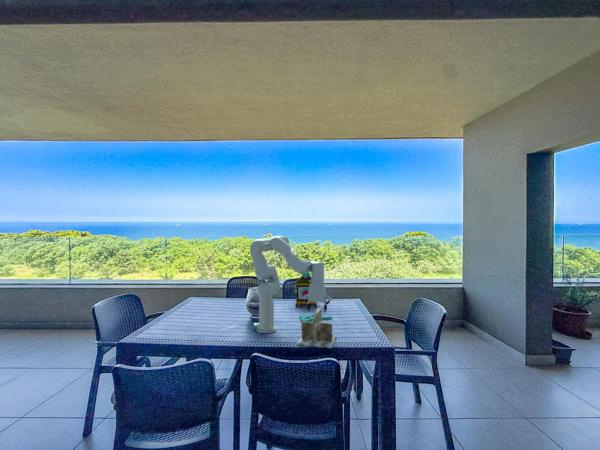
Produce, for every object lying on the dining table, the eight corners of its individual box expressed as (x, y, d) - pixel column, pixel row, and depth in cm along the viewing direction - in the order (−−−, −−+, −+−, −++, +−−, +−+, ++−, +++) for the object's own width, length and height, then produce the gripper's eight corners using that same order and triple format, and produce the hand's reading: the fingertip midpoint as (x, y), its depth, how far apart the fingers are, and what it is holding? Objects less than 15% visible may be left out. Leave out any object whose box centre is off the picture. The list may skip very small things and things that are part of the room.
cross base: (297, 345, 185) (297, 325, 185) (304, 334, 203) (304, 316, 203) (331, 348, 181) (331, 328, 181) (335, 337, 198) (335, 319, 198)
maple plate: (312, 343, 185) (313, 315, 185) (318, 333, 201) (318, 308, 201) (316, 343, 185) (316, 315, 185) (321, 334, 200) (321, 308, 200)
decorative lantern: (295, 302, 288) (295, 268, 288) (317, 302, 287) (317, 268, 287) (293, 308, 268) (293, 272, 268) (317, 308, 267) (317, 272, 267)
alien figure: (332, 319, 237) (310, 315, 249) (332, 316, 237) (310, 312, 249) (315, 326, 221) (293, 321, 234) (315, 323, 221) (293, 318, 234)
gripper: (302, 282, 193) (301, 311, 193) (330, 284, 188) (330, 313, 189) (304, 280, 200) (304, 308, 200) (332, 282, 196) (332, 310, 196)
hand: (317, 310), depth 194 cm, fingers open, 9 cm apart
